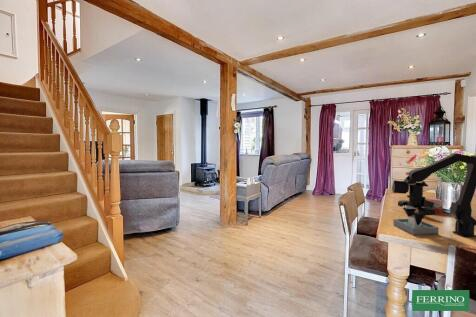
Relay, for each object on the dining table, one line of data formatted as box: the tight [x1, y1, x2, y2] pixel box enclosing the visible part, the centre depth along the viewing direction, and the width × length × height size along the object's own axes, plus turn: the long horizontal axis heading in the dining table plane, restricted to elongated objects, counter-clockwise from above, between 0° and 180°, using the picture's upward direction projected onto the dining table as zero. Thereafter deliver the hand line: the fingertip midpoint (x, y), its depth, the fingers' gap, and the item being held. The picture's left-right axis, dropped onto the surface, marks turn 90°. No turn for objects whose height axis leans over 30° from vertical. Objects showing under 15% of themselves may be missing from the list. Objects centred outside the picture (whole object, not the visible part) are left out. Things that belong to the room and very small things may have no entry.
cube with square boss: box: [407, 215, 423, 227], centre depth 125 cm, size 4×4×6 cm
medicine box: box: [425, 197, 444, 215], centre depth 157 cm, size 15×8×8 cm, turn 61°
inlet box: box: [393, 218, 439, 236], centre depth 125 cm, size 14×13×4 cm
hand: (414, 223), depth 125 cm, fingers closed on cube with square boss, 4 cm apart
